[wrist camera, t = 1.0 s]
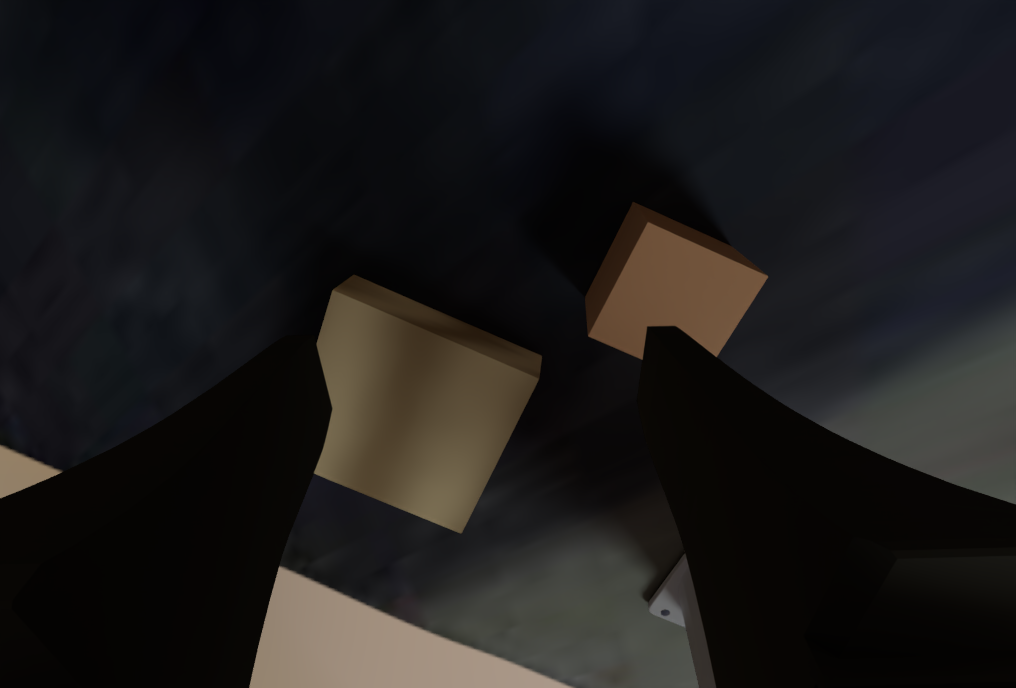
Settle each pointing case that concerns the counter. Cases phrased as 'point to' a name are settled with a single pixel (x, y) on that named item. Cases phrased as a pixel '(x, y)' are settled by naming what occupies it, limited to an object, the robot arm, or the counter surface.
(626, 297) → the brown cube
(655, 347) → the robot arm
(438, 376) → the oak block
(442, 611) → the counter surface
